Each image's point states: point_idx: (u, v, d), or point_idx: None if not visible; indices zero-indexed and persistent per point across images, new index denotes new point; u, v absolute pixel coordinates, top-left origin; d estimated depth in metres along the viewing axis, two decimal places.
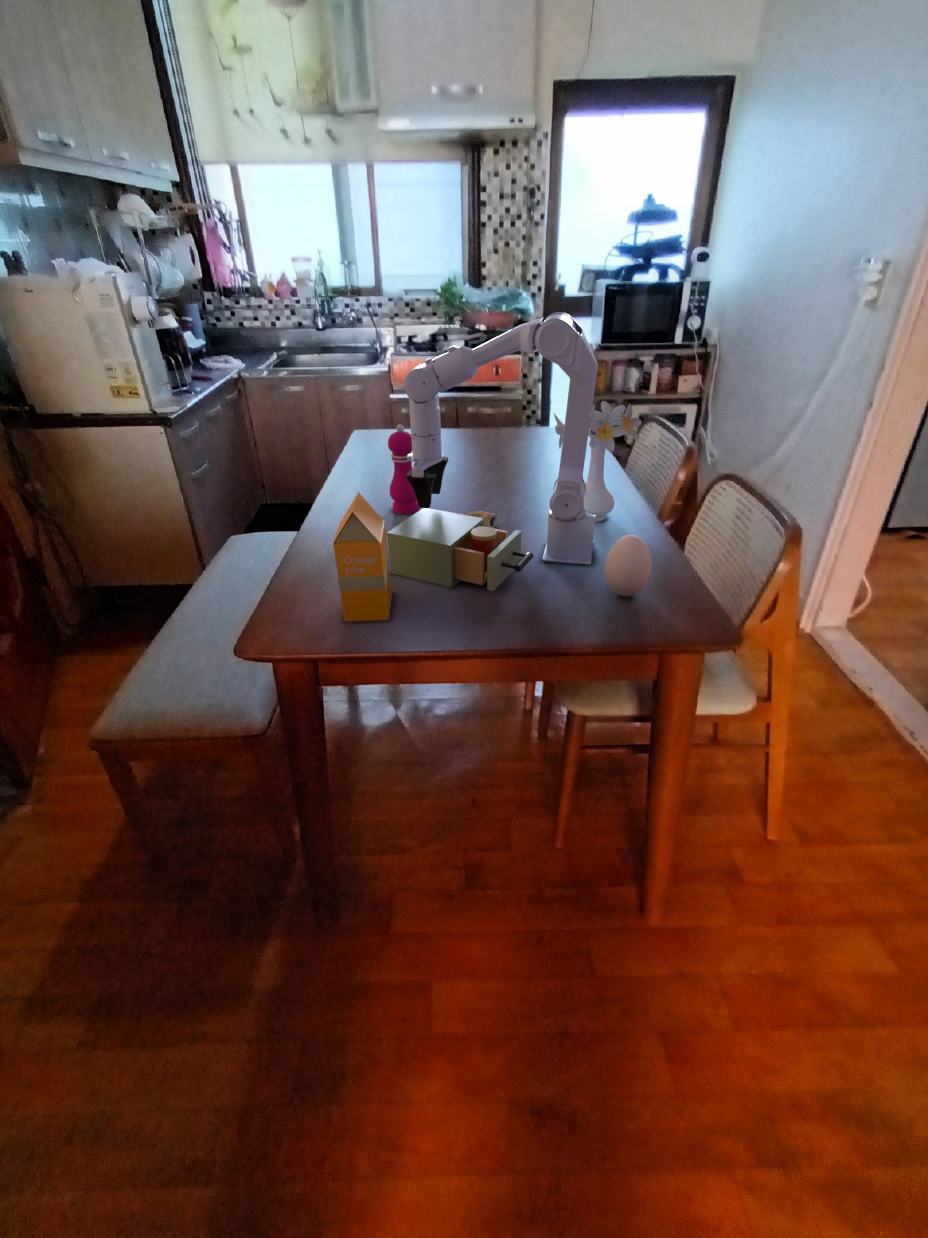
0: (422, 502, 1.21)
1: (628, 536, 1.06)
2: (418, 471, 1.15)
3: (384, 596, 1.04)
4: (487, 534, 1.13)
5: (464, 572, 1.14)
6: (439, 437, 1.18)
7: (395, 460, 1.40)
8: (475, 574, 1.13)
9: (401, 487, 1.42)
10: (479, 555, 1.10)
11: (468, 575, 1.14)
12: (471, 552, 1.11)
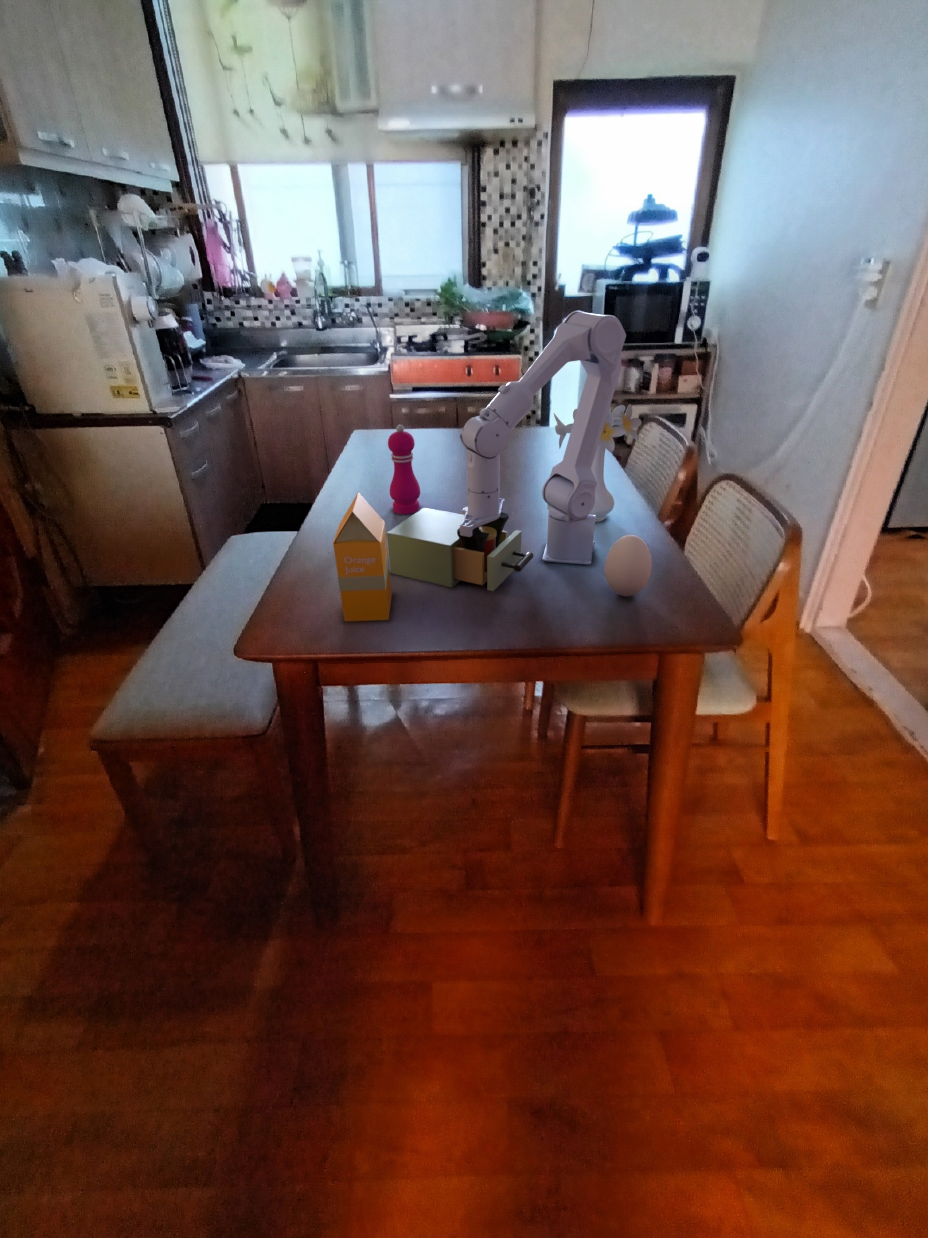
0: None
1: (628, 536, 1.06)
2: (466, 530, 1.07)
3: (384, 596, 1.04)
4: None
5: (464, 572, 1.14)
6: (496, 495, 1.08)
7: (395, 460, 1.40)
8: (475, 574, 1.13)
9: (401, 487, 1.42)
10: (479, 555, 1.10)
11: (468, 575, 1.14)
12: (471, 552, 1.11)
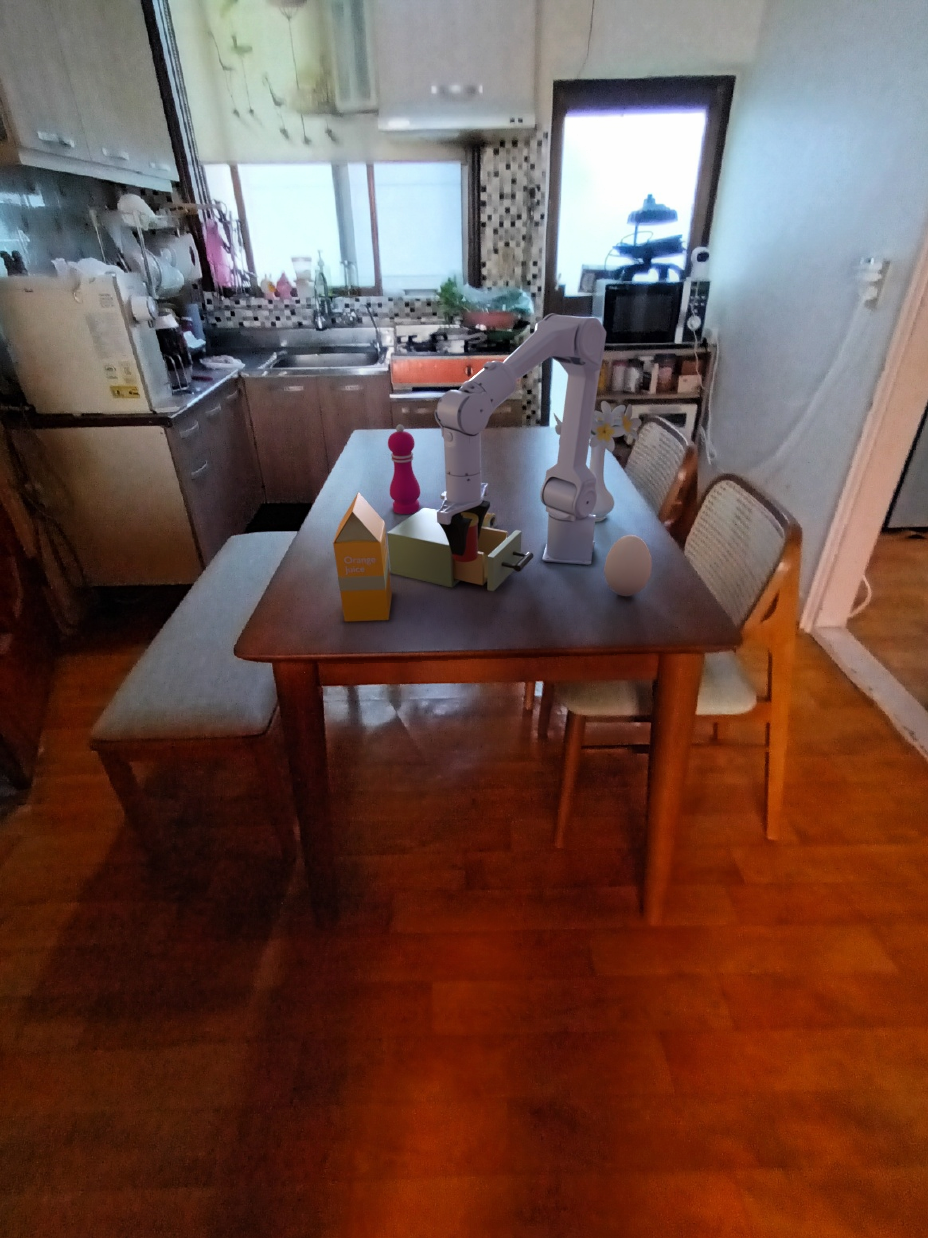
0: (455, 548, 1.03)
1: (628, 536, 1.06)
2: (443, 517, 0.96)
3: (384, 596, 1.04)
4: None
5: (464, 572, 1.14)
6: (477, 478, 0.97)
7: (395, 460, 1.40)
8: (475, 574, 1.13)
9: (401, 487, 1.42)
10: (479, 555, 1.10)
11: (468, 575, 1.14)
12: None
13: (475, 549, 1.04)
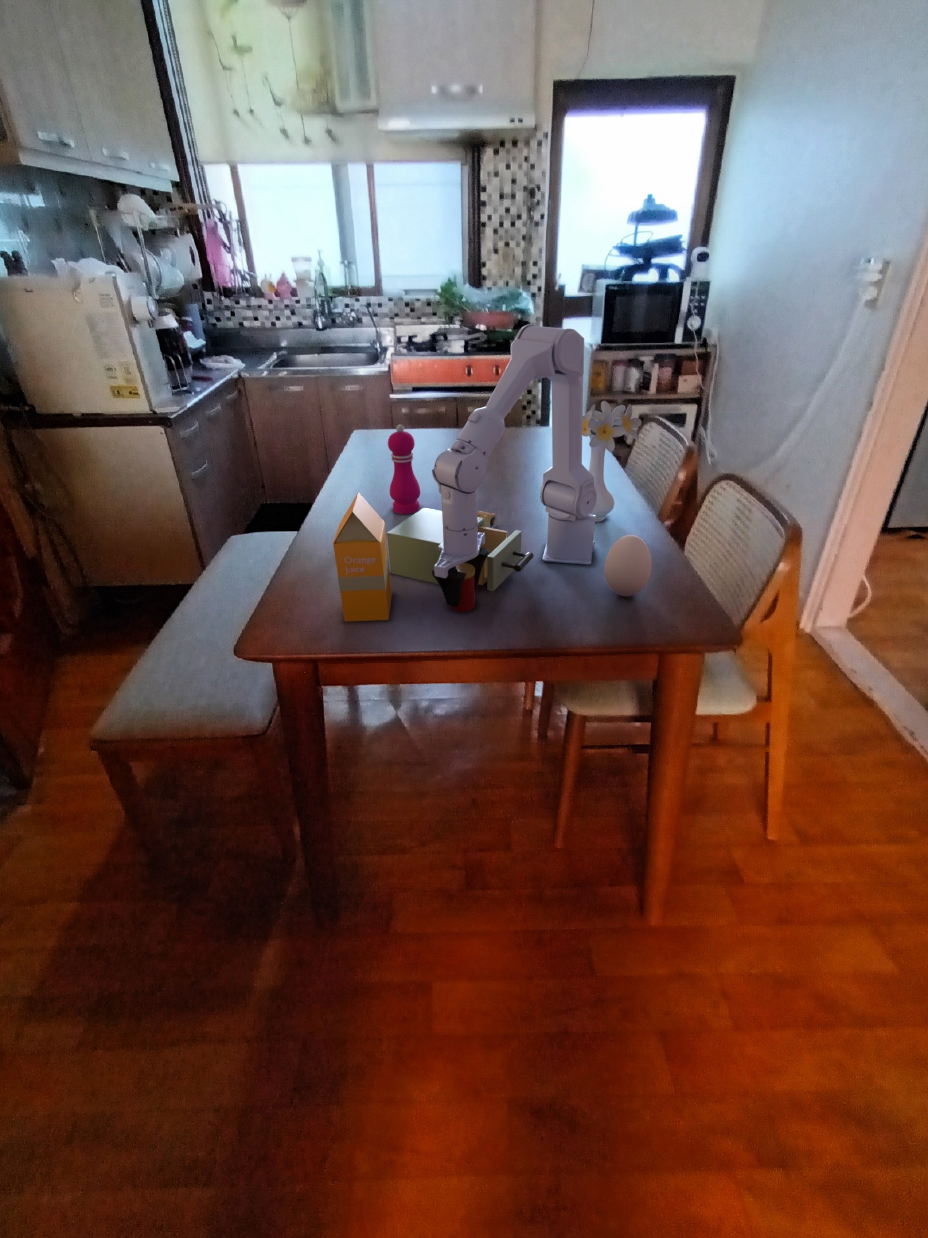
0: (450, 600, 1.05)
1: (628, 536, 1.06)
2: (441, 571, 0.99)
3: (384, 596, 1.04)
4: (465, 572, 1.05)
5: None
6: (473, 532, 1.00)
7: (395, 460, 1.40)
8: None
9: (401, 487, 1.42)
10: None
11: None
12: None
13: (472, 599, 1.07)
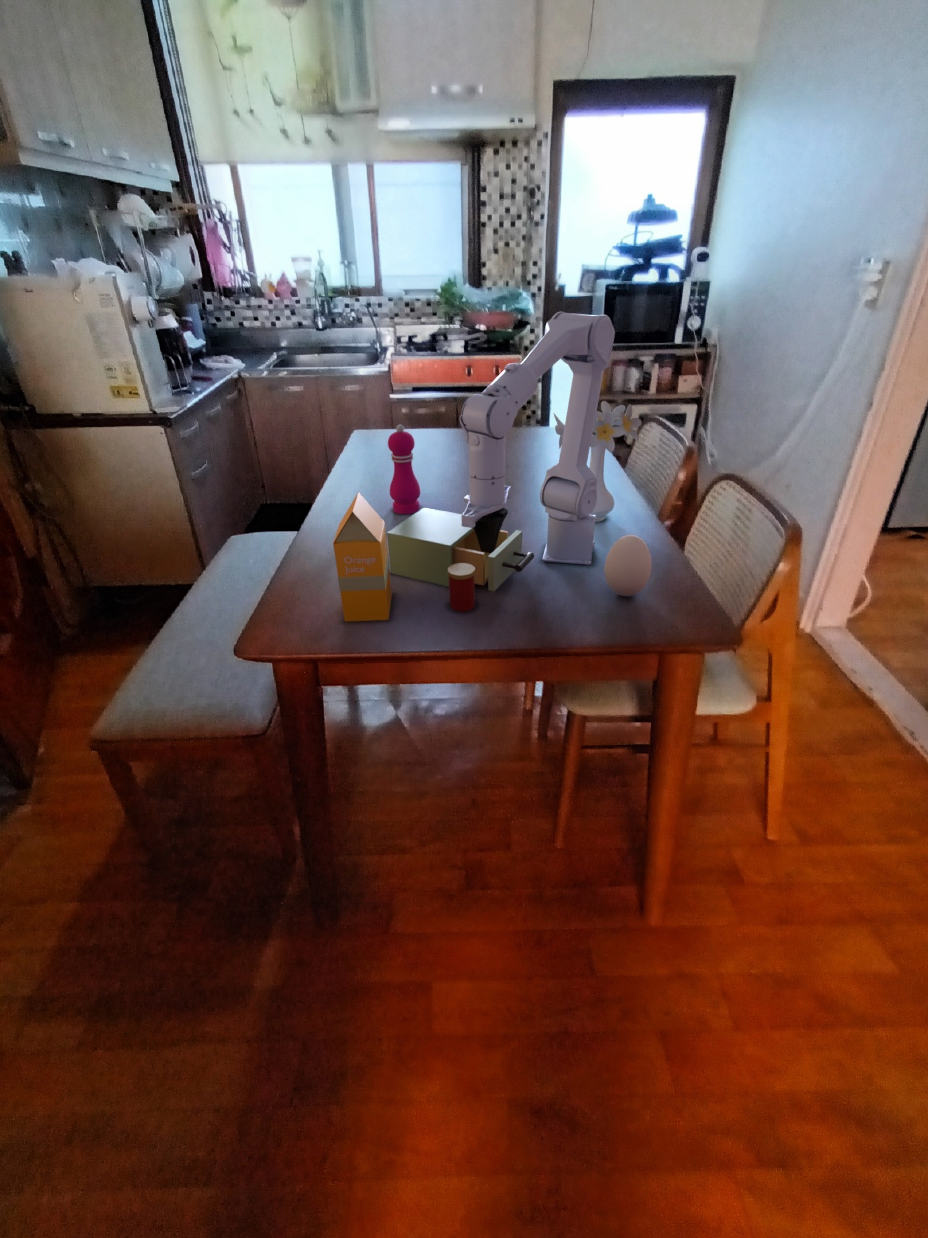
0: (484, 546, 1.05)
1: (628, 536, 1.06)
2: (468, 520, 0.96)
3: (384, 596, 1.04)
4: (465, 572, 1.05)
5: None
6: (501, 481, 0.98)
7: (395, 460, 1.40)
8: (476, 574, 1.13)
9: (401, 487, 1.42)
10: (480, 555, 1.10)
11: None
12: (472, 552, 1.11)
13: (472, 599, 1.07)
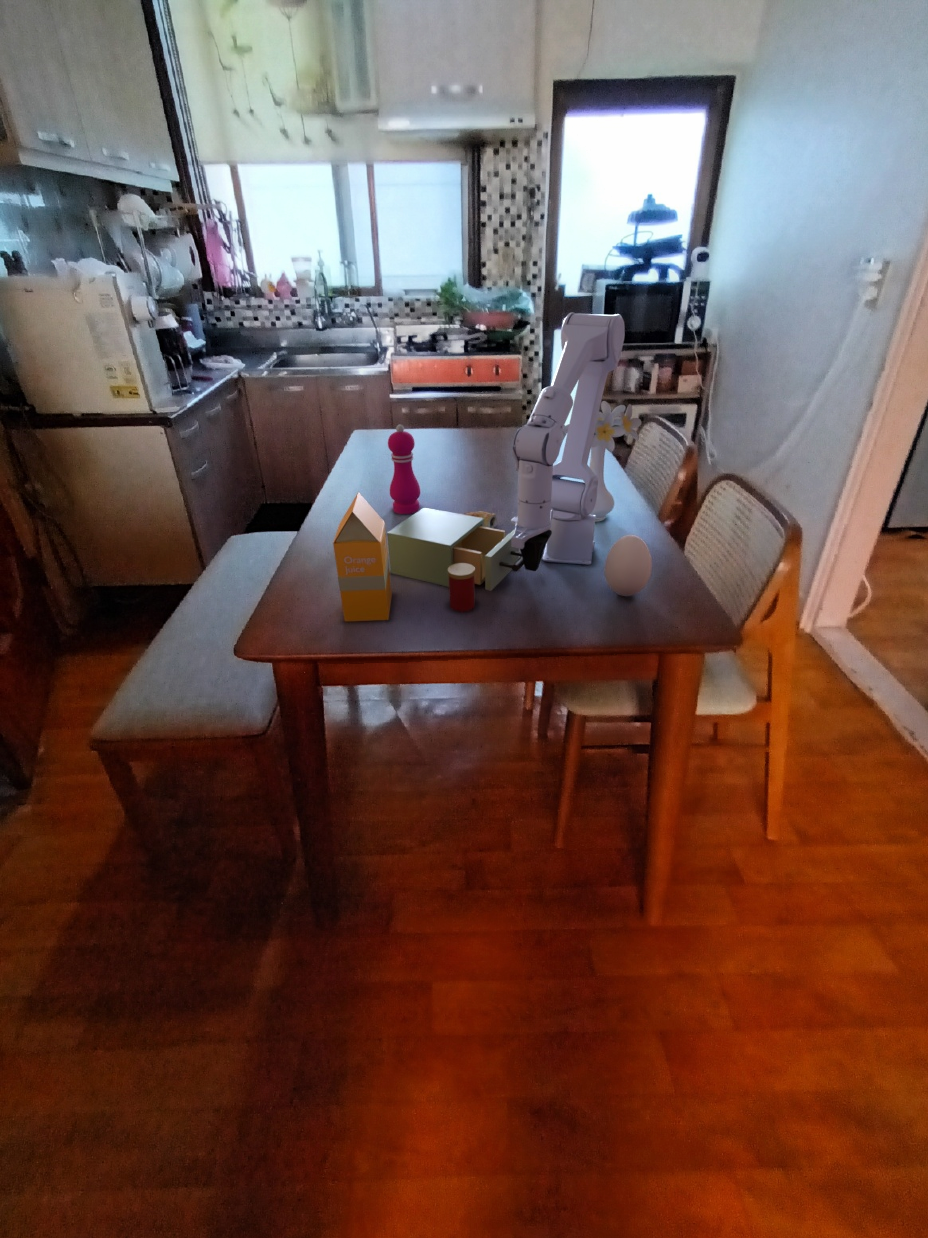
0: (528, 564, 1.12)
1: (628, 536, 1.06)
2: (518, 542, 1.03)
3: (384, 596, 1.04)
4: (465, 572, 1.05)
5: None
6: (548, 505, 1.05)
7: (395, 460, 1.40)
8: None
9: (401, 487, 1.42)
10: (477, 554, 1.10)
11: None
12: (469, 551, 1.11)
13: (472, 599, 1.07)
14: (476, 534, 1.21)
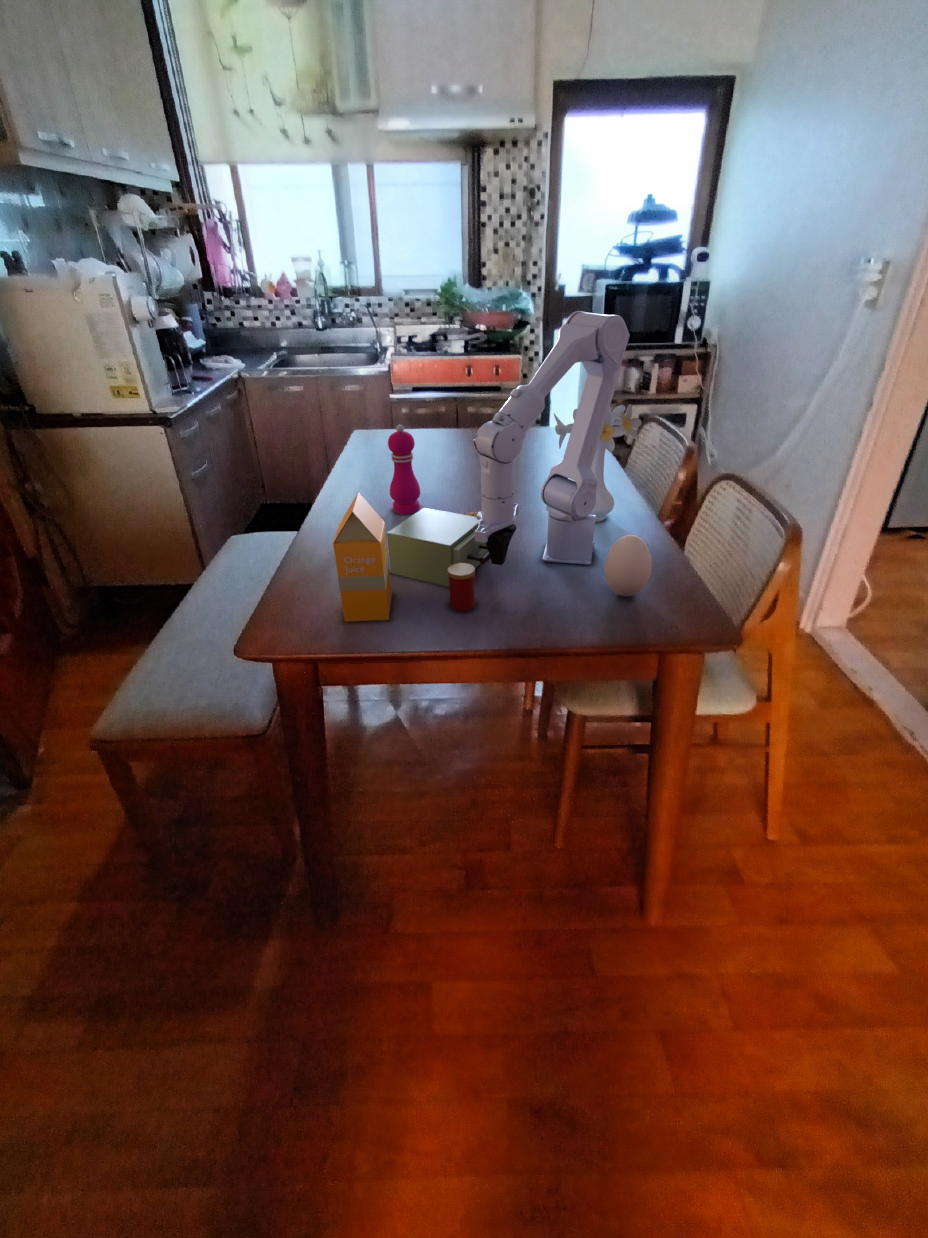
0: (495, 558, 1.15)
1: (628, 536, 1.06)
2: (481, 536, 1.06)
3: (384, 596, 1.04)
4: (465, 572, 1.05)
5: None
6: (510, 500, 1.07)
7: (395, 460, 1.40)
8: None
9: (401, 487, 1.42)
10: None
11: None
12: None
13: (472, 599, 1.07)
14: None
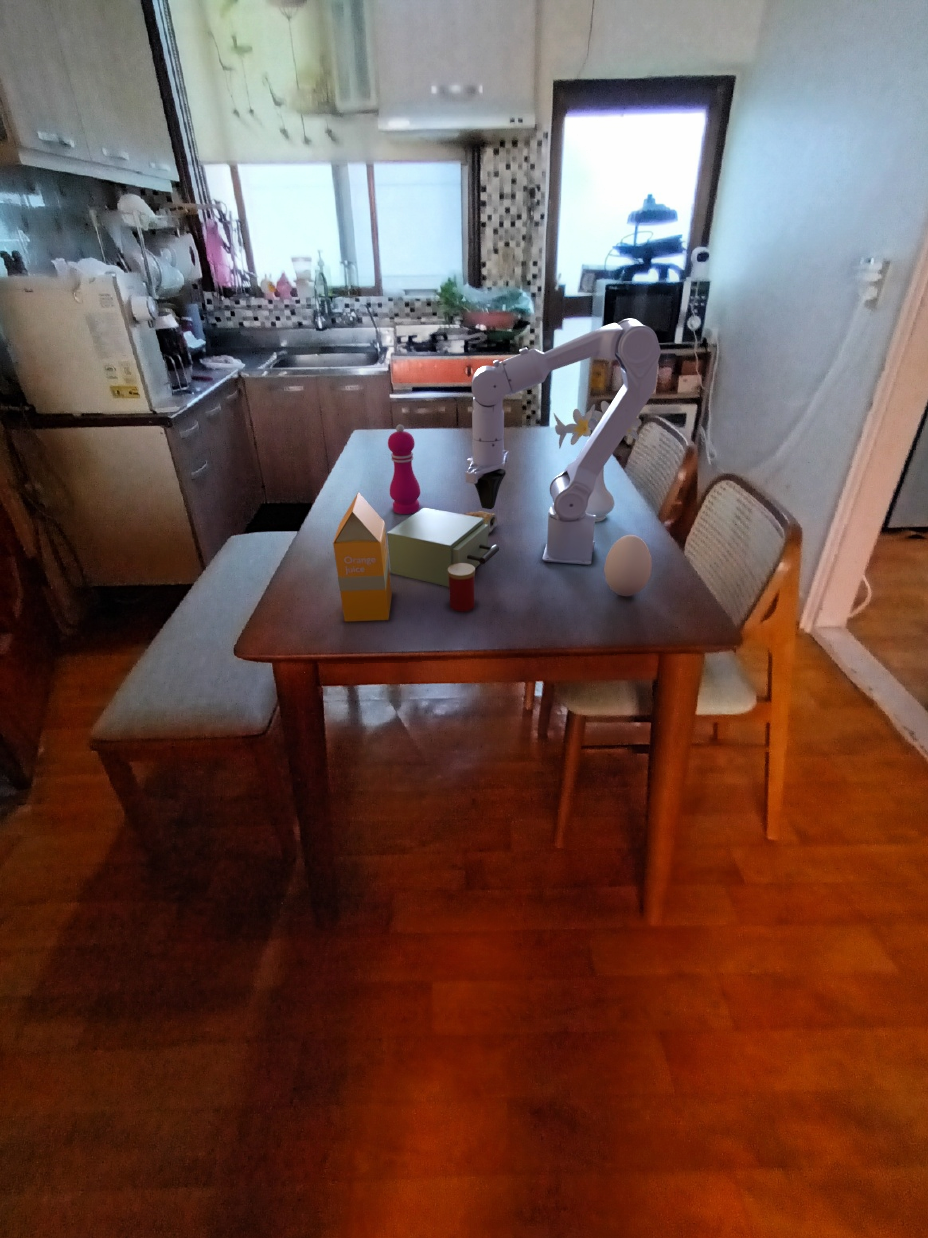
0: (485, 503, 1.19)
1: (628, 536, 1.06)
2: (471, 477, 1.10)
3: (384, 596, 1.04)
4: (465, 572, 1.05)
5: None
6: (500, 443, 1.12)
7: (395, 460, 1.40)
8: None
9: (401, 487, 1.42)
10: None
11: None
12: None
13: (472, 599, 1.07)
14: None
